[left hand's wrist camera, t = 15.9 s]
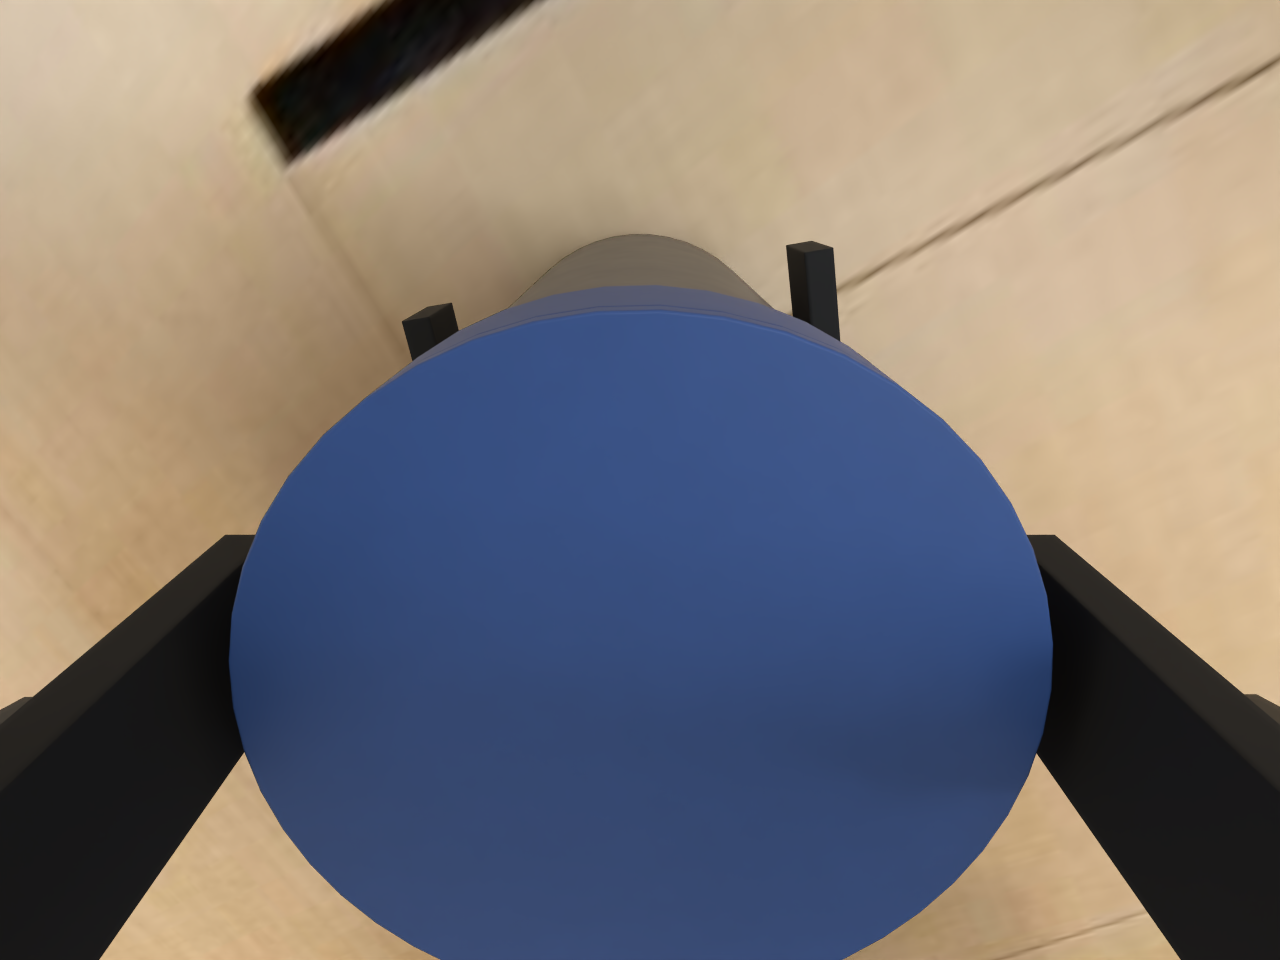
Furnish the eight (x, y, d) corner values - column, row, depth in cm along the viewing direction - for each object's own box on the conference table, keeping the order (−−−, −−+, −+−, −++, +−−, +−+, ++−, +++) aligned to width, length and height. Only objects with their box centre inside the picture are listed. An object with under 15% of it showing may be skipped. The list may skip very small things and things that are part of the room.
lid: (826, 937, 15) (858, 1063, 13) (257, 803, 14) (186, 918, 12) (1109, 415, 11) (1220, 469, 9) (367, 176, 10) (294, 174, 8)
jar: (523, 502, 32) (353, 965, 13) (491, 243, 28) (192, 360, 9) (772, 487, 31) (970, 937, 13) (772, 225, 28) (1047, 306, 9)
